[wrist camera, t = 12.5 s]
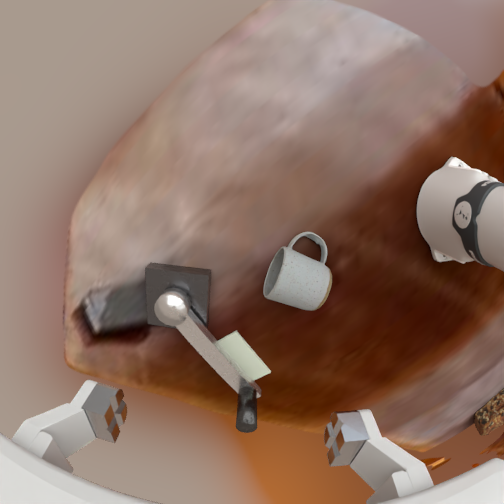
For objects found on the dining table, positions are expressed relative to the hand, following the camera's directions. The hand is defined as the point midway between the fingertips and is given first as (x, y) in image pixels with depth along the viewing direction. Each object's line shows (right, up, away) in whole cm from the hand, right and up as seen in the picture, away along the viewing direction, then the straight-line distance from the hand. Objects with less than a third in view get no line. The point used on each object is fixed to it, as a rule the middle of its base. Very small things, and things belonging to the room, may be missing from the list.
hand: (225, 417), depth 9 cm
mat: (-2, -14, +39) cm, 42 cm away
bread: (+84, -46, +48) cm, 107 cm away
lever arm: (-5, -9, +35) cm, 37 cm away
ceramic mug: (+8, +4, +34) cm, 36 cm away
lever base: (-11, -1, +36) cm, 37 cm away
